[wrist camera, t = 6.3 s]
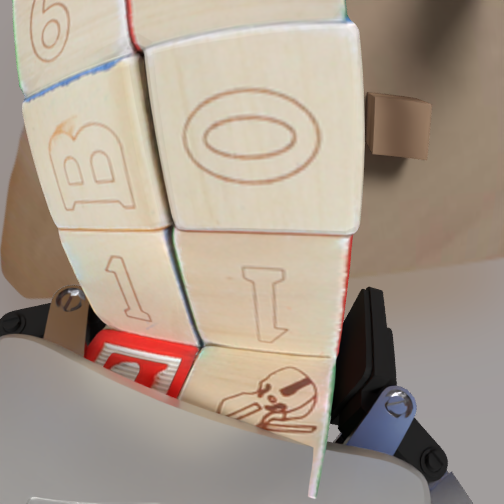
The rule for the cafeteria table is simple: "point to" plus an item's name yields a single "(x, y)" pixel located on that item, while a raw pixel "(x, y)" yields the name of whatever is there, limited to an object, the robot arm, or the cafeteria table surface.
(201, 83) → the stack of blocks
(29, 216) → the cafeteria table surface
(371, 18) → the cafeteria table surface
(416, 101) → the walnut cube
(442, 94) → the cafeteria table surface
